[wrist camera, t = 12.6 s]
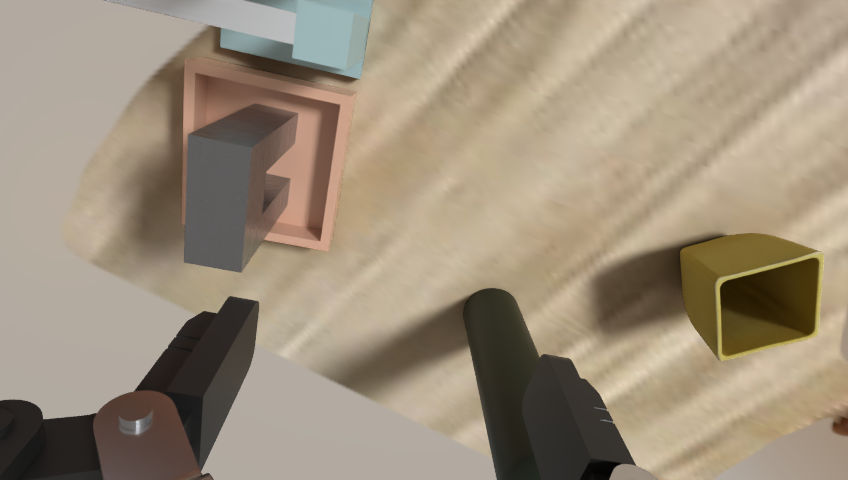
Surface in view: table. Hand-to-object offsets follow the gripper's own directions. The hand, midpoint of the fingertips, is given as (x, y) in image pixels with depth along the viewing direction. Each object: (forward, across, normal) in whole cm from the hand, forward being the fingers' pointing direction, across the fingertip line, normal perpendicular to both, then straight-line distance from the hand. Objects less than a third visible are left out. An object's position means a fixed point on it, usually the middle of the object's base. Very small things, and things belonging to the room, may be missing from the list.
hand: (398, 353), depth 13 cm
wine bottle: (+30, -13, +16) cm, 37 cm away
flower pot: (+31, -32, +6) cm, 45 cm away
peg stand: (+30, +12, -6) cm, 33 cm away
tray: (+30, +11, +5) cm, 33 cm away
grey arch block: (+30, +11, +5) cm, 32 cm away
